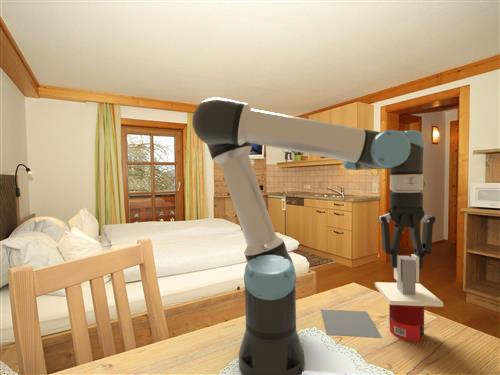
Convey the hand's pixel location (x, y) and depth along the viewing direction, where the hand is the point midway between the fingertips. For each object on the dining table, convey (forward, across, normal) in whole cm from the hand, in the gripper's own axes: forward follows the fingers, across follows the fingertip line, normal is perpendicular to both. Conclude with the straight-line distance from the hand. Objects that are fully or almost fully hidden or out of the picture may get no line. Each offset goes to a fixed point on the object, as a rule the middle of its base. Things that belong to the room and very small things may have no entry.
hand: (406, 279), depth 72 cm
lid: (+4, 0, 0) cm, 4 cm away
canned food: (+15, 0, 0) cm, 15 cm away
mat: (+15, -14, +4) cm, 21 cm away
